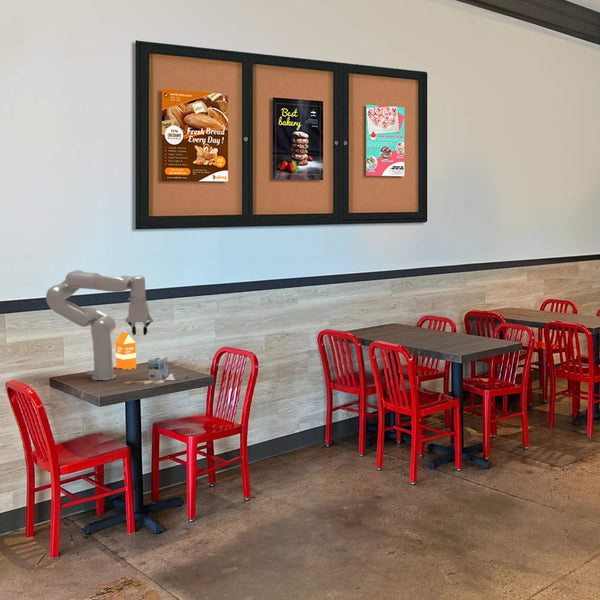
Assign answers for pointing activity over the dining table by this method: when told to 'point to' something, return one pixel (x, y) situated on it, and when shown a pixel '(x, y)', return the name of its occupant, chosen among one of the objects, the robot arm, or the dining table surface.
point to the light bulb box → (158, 368)
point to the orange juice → (125, 352)
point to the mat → (170, 377)
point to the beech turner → (145, 382)
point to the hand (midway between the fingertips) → (139, 334)
